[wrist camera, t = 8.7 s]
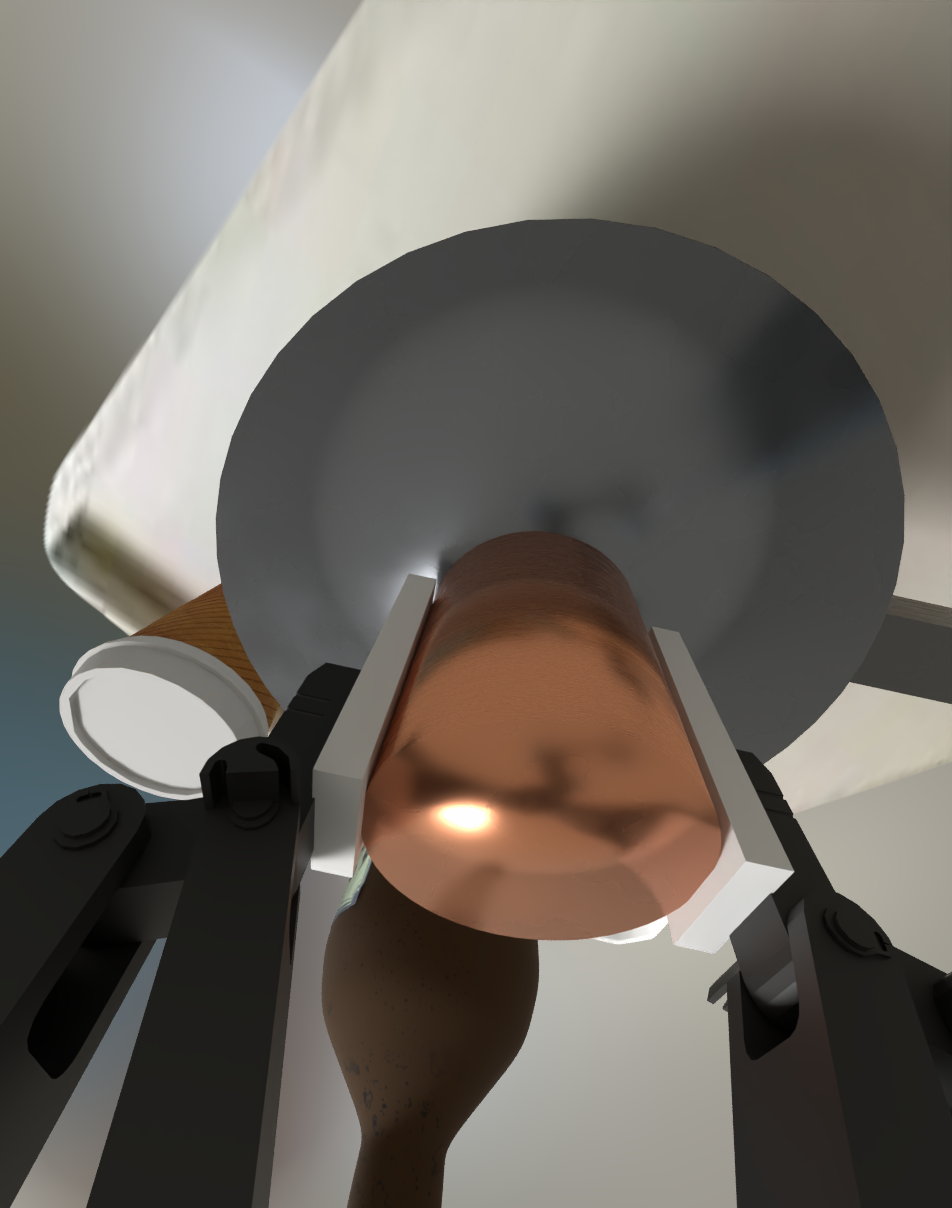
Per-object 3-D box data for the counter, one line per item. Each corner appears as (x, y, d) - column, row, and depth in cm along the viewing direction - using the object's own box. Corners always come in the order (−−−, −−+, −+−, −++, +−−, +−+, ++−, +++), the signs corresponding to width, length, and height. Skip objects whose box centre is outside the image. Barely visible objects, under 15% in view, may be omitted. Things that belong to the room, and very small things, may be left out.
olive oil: (547, 695, 34) (579, 1332, 12) (523, 791, 39) (515, 1350, 18) (401, 672, 34) (185, 1257, 13) (397, 771, 40) (240, 1297, 18)
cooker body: (978, 381, 22) (1375, 430, 12) (773, 683, 32) (892, 856, 21) (380, 245, 22) (244, 171, 11) (356, 592, 31) (270, 724, 21)
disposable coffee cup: (255, 514, 29) (104, 619, 19) (368, 619, 32) (293, 758, 22) (177, 598, 33) (16, 723, 22) (285, 684, 36) (187, 828, 26)
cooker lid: (1074, 335, 10) (2201, 359, 3) (695, 844, 20) (781, 1116, 13) (203, 133, 10) (-534, -296, 3) (251, 749, 20) (101, 976, 13)
